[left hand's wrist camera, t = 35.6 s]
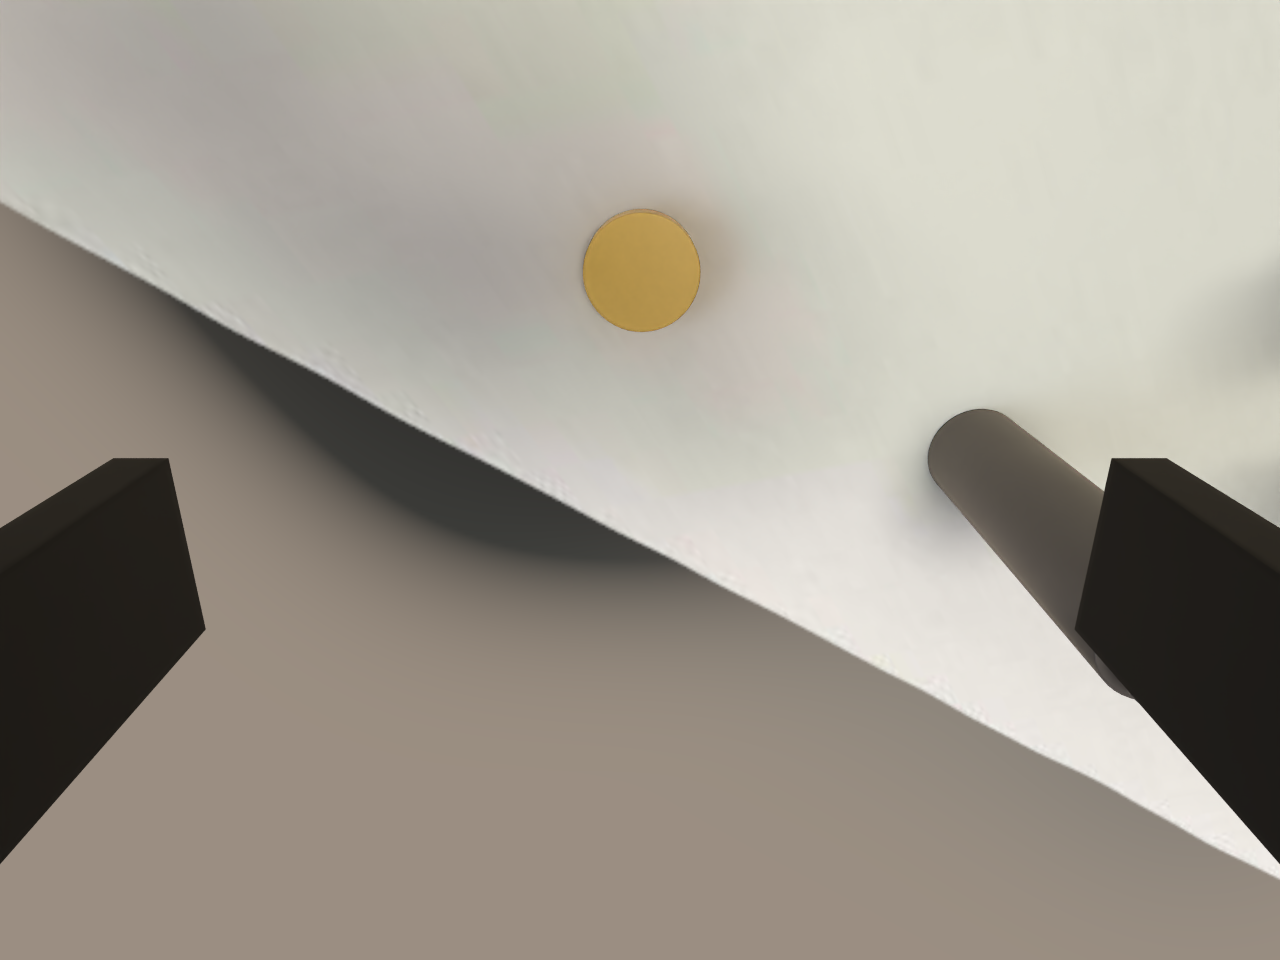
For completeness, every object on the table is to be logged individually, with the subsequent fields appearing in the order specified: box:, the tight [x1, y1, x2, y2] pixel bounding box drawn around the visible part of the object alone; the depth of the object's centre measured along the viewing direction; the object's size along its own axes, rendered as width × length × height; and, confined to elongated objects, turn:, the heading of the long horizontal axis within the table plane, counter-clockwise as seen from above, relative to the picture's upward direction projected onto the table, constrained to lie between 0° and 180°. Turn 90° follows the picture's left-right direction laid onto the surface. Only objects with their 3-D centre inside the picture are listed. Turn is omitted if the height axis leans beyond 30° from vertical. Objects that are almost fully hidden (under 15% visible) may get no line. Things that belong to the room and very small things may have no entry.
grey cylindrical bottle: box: [928, 409, 1138, 702], centre depth 35 cm, size 5×5×19 cm
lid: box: [583, 209, 700, 332], centre depth 39 cm, size 5×5×2 cm
